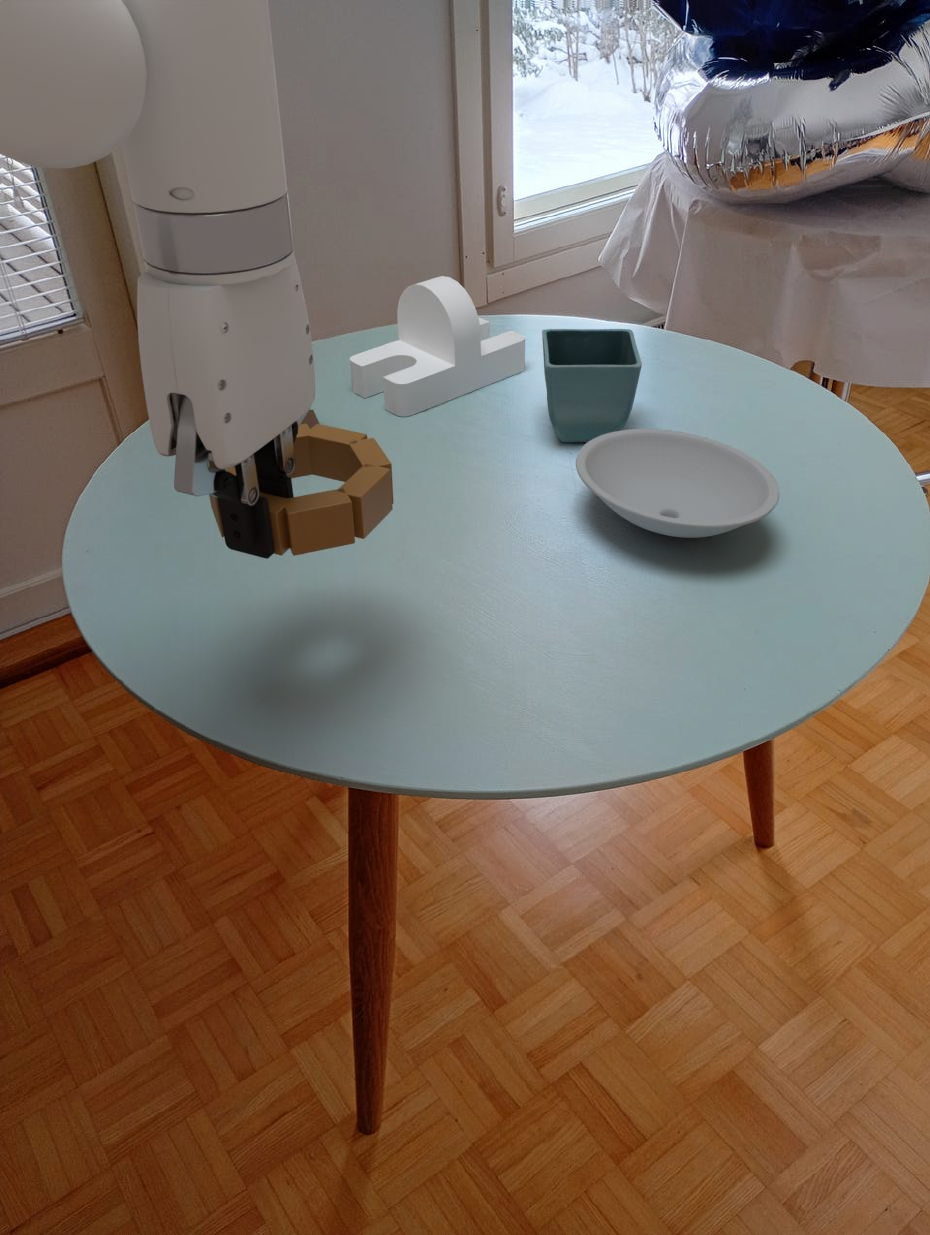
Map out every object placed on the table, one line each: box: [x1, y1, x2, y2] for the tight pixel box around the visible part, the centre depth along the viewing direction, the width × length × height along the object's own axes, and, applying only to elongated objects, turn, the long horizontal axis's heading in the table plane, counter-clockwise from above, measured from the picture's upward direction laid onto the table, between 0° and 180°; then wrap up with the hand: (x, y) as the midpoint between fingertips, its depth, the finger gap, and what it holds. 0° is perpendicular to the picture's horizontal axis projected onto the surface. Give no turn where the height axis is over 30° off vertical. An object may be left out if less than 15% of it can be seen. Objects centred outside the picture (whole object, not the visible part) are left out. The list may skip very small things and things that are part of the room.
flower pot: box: [541, 328, 643, 443], centre depth 95 cm, size 9×9×9 cm
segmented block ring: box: [208, 423, 395, 557], centre depth 63 cm, size 11×11×3 cm
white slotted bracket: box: [349, 275, 526, 418], centre depth 105 cm, size 10×18×11 cm, turn 131°
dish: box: [575, 428, 780, 539], centre depth 83 cm, size 18×14×5 cm
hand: (262, 539), depth 60 cm, fingers closed on segmented block ring
